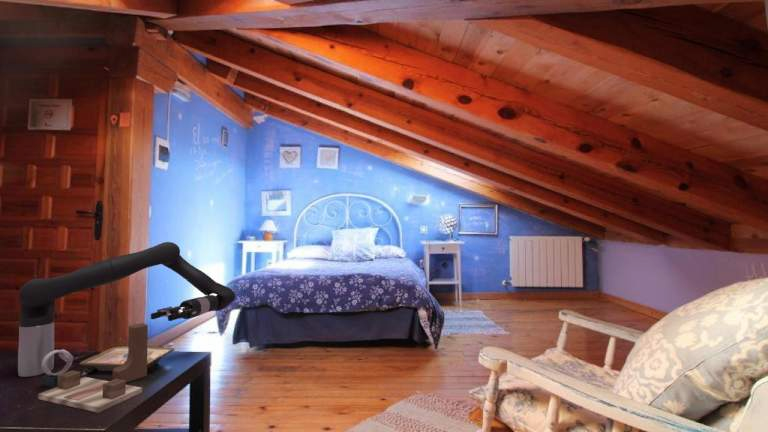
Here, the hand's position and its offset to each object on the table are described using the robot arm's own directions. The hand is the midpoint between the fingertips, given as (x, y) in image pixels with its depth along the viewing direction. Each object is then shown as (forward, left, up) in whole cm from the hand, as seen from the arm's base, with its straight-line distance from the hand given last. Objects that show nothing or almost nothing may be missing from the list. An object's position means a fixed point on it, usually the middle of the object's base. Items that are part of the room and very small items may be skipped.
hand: (160, 317), depth 136 cm
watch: (-20, -21, -19) cm, 35 cm away
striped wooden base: (0, -24, -18) cm, 30 cm away
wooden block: (0, -11, -19) cm, 22 cm away
